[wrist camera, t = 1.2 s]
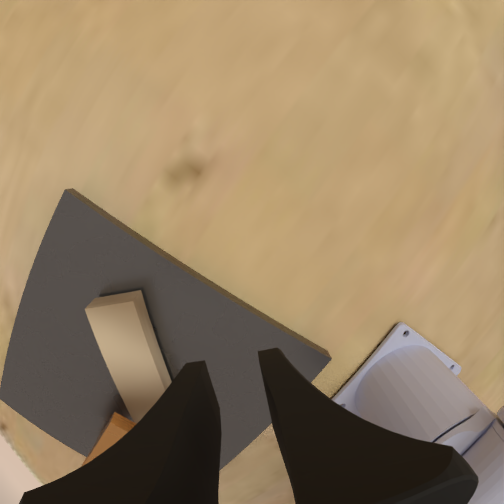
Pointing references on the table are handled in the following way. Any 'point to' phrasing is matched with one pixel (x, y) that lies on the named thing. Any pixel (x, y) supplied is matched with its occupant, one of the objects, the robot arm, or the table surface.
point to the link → (129, 349)
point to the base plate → (164, 325)
